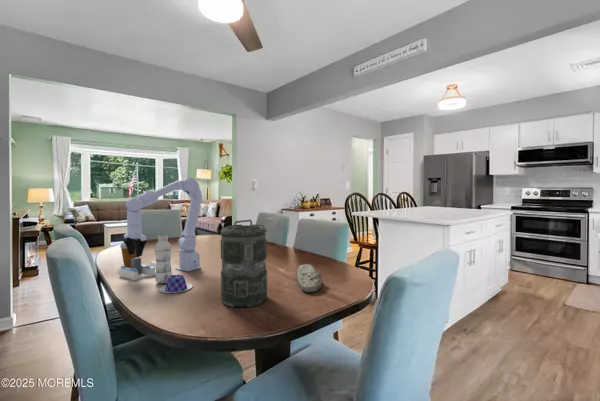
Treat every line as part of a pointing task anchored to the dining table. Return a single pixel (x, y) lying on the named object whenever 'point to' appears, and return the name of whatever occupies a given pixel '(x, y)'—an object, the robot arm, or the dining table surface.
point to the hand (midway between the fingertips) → (135, 255)
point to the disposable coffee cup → (127, 256)
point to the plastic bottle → (163, 259)
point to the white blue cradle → (133, 273)
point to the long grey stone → (308, 278)
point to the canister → (243, 265)
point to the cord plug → (136, 264)
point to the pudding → (175, 284)
